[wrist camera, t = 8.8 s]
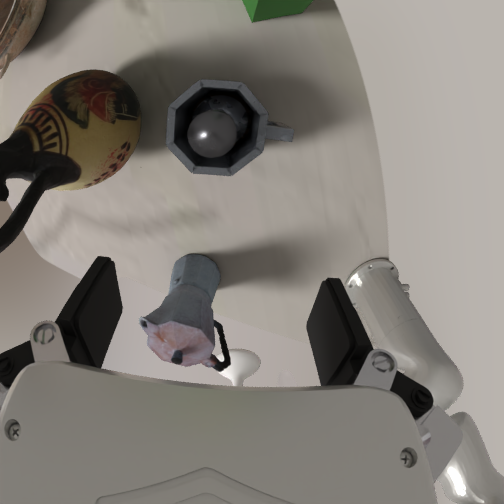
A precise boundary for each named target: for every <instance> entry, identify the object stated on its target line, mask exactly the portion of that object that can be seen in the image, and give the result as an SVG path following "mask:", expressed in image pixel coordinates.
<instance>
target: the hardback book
mask: <svg viewBox="0 0 504 504" xmlns="http://www.w3.org/2000/svg"><path fill="white" fill-rule="evenodd" d="M242 1H243V3H244V5H245V7H246V10H247V12H248V14H249V17H250V19H251V21H252V23H253V22H257V21H261V20H266V19H271V18H276V17H281V16H287V15H293V14H299V13H302V12H303V11H304V10H305V9H306V8H307V7H308V6H309V5H310V3H311V2H312V1H313V0H242Z"/></svg>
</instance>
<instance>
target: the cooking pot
mask: <svg viewBox="0 0 504 504" xmlns="http://www.w3.org/2000/svg"><path fill="white" fill-rule="evenodd" d="M46 3H47V0H0V69H2V70H1V72H0V79H1V78H2V76H3V75H4V73H5V72H6V70H7V68H8V66H9V63H10V62H11V61H13V60H14V59H15V58H16V57H17V56H18V55H19V54H20V53H21V52H22V50H23V49H24V48H25V47H26V45H27V44H28V43H29V41H30V40H31V38H32V37H33V35H34V33H35V32H36V30H37V28H38V26H39V24H40V22H41V20H42V17H43V14H44V11H45V8H46Z"/></svg>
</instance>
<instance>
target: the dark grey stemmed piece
mask: <svg viewBox="0 0 504 504" xmlns="http://www.w3.org/2000/svg"><path fill="white" fill-rule="evenodd" d="M247 125H248V116H247V113H246V110H245V108H244V107H243V105H242V104H241V103H240V102H239V101H238V100H236V99H234V98H232V97H230V96H226V95H215V96H212V97H209V98H207V99H205V100H204V101H202V102H201V103H200V104H199V105H198V106H197V108H196V109H195V112H194V114H193V118H192V122H191V124H190V126H189V129H188V141H189V144H190V146H191V147H192V149H193V150H194V151H195V152H196V153H198V154H200V155H202V156H204V157H209V158H214V157H219V156H222V155H224V154H226V153H227V152H228V151H229V150H230V149H231V148H232V147H233V145H234V144H235V143H236V142H237V141H239V140H240V139H241V138H242V136H243V135H244V133H245V131H246V129H247Z"/></svg>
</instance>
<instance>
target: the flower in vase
mask: <svg viewBox="0 0 504 504" xmlns="http://www.w3.org/2000/svg"><path fill="white" fill-rule="evenodd" d="M229 353H230V354H229V355H230V358H231V365H230V366H228V368H226V369H224V371H222V372H219V373H220V374H221V375H223V376H224V377H226V378H229V379H230V380H231V381H232V383H233V386H241V387H243V381H244V380H245V379H246V378H248V377H250V376H251V375H252V374H254V373H255V372H256V371H257V370H258V368H259V367H260V364H261V362H260V359H259V357H258V356H257V355H256V354H255V353H253V352H251V351H248V350H244V349H231V350H229ZM217 358H218V360H220V361H221V362H223V361H224V356H223V353H220V354H219V355H218V356H217ZM217 372H218V371H217Z"/></svg>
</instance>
